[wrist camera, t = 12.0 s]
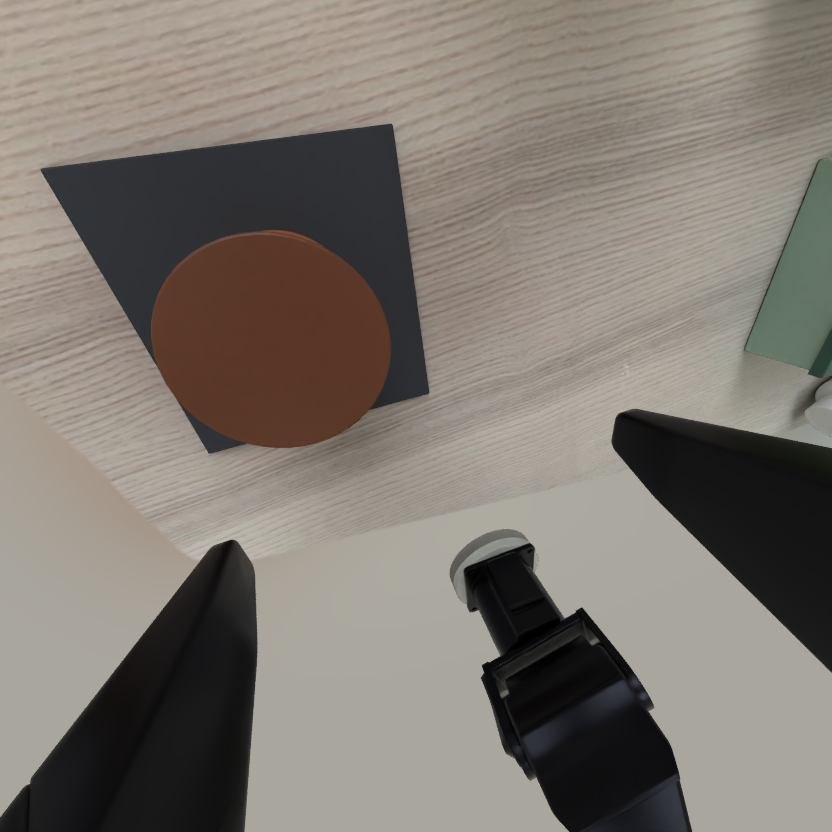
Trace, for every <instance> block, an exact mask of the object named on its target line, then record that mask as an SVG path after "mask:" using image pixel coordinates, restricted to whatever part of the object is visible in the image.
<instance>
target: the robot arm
mask: <svg viewBox="0 0 832 832" xmlns="http://www.w3.org/2000/svg"><path fill="white" fill-rule="evenodd" d="M612 446H613V448H614V450H615V451H616V452H617V453H618V455H619V456H620V457H621V458H622V459H623V461H624V462H625V463H626V464H627V465H628V466H629V468H630V469H631V470H632V471H633V472H634V474H635V475H636V476H637V477H638V478H639V479H640V481H641V482H642V483H643V484H644V485H645V487H646V488H647V489H648V490H649V491H650V492H651V494H652V495H653V496H654V497H655V498H656V499H657V500H658V501H659V502H660V503H661V504H662V505H663V506H664V507H665V508H666V509H667V510H668V511H669V512H670V513H671V514H672V515H673V516H674V517H675V518H676V519H677V520H678V521H679V522H680V523H681V524H682V525H683V526H684V527H685V528H686V529H687V530H688V531H689V532H690V533H691V534H692V535H693V536H694V537H695V538H696V539H697V540H698V541H699V542H700V543H701V544H702V545H703V546H704V547H705V548H706V549H707V550H708V551H709V552H710V553H711V554H712V555H713V556H714V557H715V558H716V559H717V560H718V561H719V562H720V563H721V564H722V565H723V566H724V567H725V568H726V569H727V570H728V571H729V572H730V573H731V574H732V575H733V576H735V578H736V579H737V580H739V582H740V583H742V584H743V585H744V586H745V587H746V588H747V589H748V590H749V591H750V592H751V593H752V594H753V595H754V596H755V597H756V598H757V599H758V600H759V601H760V602H761V603H762V604H763V605H764V606H765V607H766V608H767V609H768V610H769V611H770V612H771V613H772V614H773V615H774V616H775V617H776V618H777V619H778V620H779V621H780V622H781V623H782V624H783V625H784V626H785V627H786V628H787V629H788V630H789V631H790V632H791V633H792V634H793V635H794V636H795V637H796V638H797V639H798V640H799V641H800V642H801V643H802V644H803V645H804V646H805V647H806V648H807V649H808V650H809V651H810V652H811V653H812V654H813V655H814V656H815V657H816V658H817V659H818V660H819V661H820V662H822V664H824V665H825V667H826V668H827V669H829V670H830V671H831V672H832V448H828V447H823V446H818V445H813V444H808V443H803V442H798V441H793V440H788V439H783V438H778V437H773V436H768V435H763V434H758V433H753V432H748V431H743V430H738V429H733V428H728V427H723V426H718V425H713V424H709V423H704V422H699V421H694V420H689V419H684V418H679V417H674V416H669V415H664V414H659V413H654V412H649V411H644V410H639V409H631V410H628V411H625V412H622V413H620V414H618V415H617V417H616V419H615V424H614V429H613V435H612ZM534 555H535V548H534V546H533V545H532V544H531V543H528V544H525V545H522V546H520V547H517V548H514V549H512V550H509V551H506V552H504V553H501V554H498V555H496V556H493V557H490V558H488V559H485V560H482V561H480V562H477V563H474V564H472V565H469V566H467V567H466V568H464V570H463V573H464V582H465V591H466V600H467V607H468V610H469V611H470V612H475V611H477V610H479V611H480V613H481V615H482V618H483V620H484V622H485V624H486V626H487V628H488V630H489V632H490V635H491V637H492V639H493V641H494V643H495V646H496V648H497V650H498V652H499V654H500V657H498V658H496V659H495V660H493V661H491V662H487V663H485V664H483V665H482V668H483V670H484V674H483V675H482V677H481V679H482V682H483V684H484V687H485V689H486V691H487V694H488V697H489V700H490V703H491V706H492V709H493V713H494V716H495V720H496V723H497V728H498V731H499V735H500V739H501V742H502V746H503V748H504V750H505V752H506V754H508V755H509V756H511V757H513V758H515V759H516V761H517V763H518V764H519V766H520V767H521V768H522V769H523V771H524V773H525V775H526V776H527V778H528V779H529V780H532V779H534V778H536V777H537V780H538V782H539V784H540V786H541V788H542V790H543V793H544V795H545V797H546V799H547V801H548V804H549V806H550V808H551V810H552V812H553V814H554V815H555V816H556V817H557V818H558V820H559V821H560V822H561V823H562V824H563V825H564V826H565V828H567V830H568V831H569V832H692V829H691V825H690V821H689V817H688V812H687V808H686V804H685V800H684V796H683V792H682V788H681V784H680V776H679V771H678V768H677V765H676V761H675V758H674V754H673V751H672V748H671V745H670V743H669V742H668V740H667V738H666V737H665V735H664V734H663V732H662V731H661V730H660V728H659V727H658V725H657V724H656V722H655V721H654V719H653V718H652V716H651V715H650V713H649V712H648V711H650V710H652V709H653V708H654V705H653V703H652V701H651V699H650V697H649V695H648V693H647V692H646V690H645V689H644V687H643V685H642V684H641V682H640V681H639V679H638V678H637V676H636V675H635V674H634V672H633V671H632V669H631V668H630V666H629V665H628V664H627V662H626V661H625V660H624V659H623V657H622V656H621V655H620V653H619V652H618V651H617V650H616V649H615V647H614V646H613V645H612V644H611V642H610V641H609V640H608V639H607V637H606V636H605V635H604V634H603V632H602V631H601V630H600V629H599V628H598V626H597V625H596V624H595V623H594V621H593V620H592V619H591V618H590V616H589V615H588V614H587V613H586V612H585V610H584V609H583V608H580V609H578V610H577V611H576V613H574V614H572V615H571V616H569V617H567V618H564V617H563V615H562V614H561V612H560V611H559V609H558V608H557V606H556V605H555V603H554V602H553V600H552V599H551V597H550V596H549V594H548V593H547V591H546V590H545V588H544V587H543V585H542V584H541V582H540V581H539V579H538V578H537V576H536V575H535V573H534V572H533V568H534ZM256 620H257V618H256V593H255V572H254V568H253V565H252V563H251V561H250V560H249V558H248V557H247V555H246V554H245V552H244V551H243V549H242V548H241V546H240V545H239V543H238V542H237V541H235V540H229V541H226V542H223V543H220V544H217V545H214V546H213V547H211V548H210V549H209V551H208V552H207V553H206V554H205V556H204V557H203V558H202V560H201V561H200V562H199V564H198V565H197V566H196V567H195V569H194V570H193V571H192V572H191V574H190V575H189V576H188V578H187V579H186V580H185V581H184V583H183V584H182V585H181V587H180V588H179V589H178V590H177V592H176V593H175V594H174V596H173V597H172V598H171V599H170V601H169V602H168V603H167V605H166V606H165V607H164V608H163V610H162V611H161V612H160V614H159V615H158V616H157V617H156V619H155V620H154V621H153V623H152V624H151V625H150V626H149V628H148V629H147V630H146V631H145V633H144V634H143V635H142V637H141V638H140V639H139V640H138V642H137V643H136V644H135V645H134V647H133V648H132V650H131V651H130V652H129V653H128V655H127V656H126V657H125V658H124V660H123V661H122V662H121V663H120V665H119V666H118V667H117V669H116V670H115V671H114V673H113V674H112V675H111V676H110V678H109V679H108V680H107V681H106V683H105V684H104V685H103V687H102V688H101V689H100V690H99V692H98V693H97V694H96V695H95V697H94V698H93V699H92V701H91V702H90V703H89V704H88V706H87V707H86V708H85V710H84V711H83V712H82V713H81V715H80V716H79V717H78V719H77V720H76V721H75V722H74V724H73V725H72V726H71V728H70V729H69V730H68V731H67V733H66V734H65V735H64V736H63V738H62V739H61V740H60V742H59V743H58V744H57V745H56V747H55V748H54V749H53V751H52V752H51V753H50V754H49V756H48V757H47V758H46V760H45V761H44V762H43V763H42V765H41V766H40V767H39V769H38V770H37V771H36V772H35V774H34V775H33V776H32V778H31V781H30V784H29V785H26V786H25V787H24V788H23V789H22V790H21V791H20V793H19V794H18V795H17V796H16V798H15V799H14V800H13V802H12V803H11V804H10V806H9V807H8V808H7V809H6V811H5V812H4V813H3V814H2V816H1V817H0V832H244V830H245V816H246V802H247V789H248V776H249V762H250V748H251V734H252V722H253V721H252V720H253V708H254V694H255V681H256V667H257V621H256Z"/></svg>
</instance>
